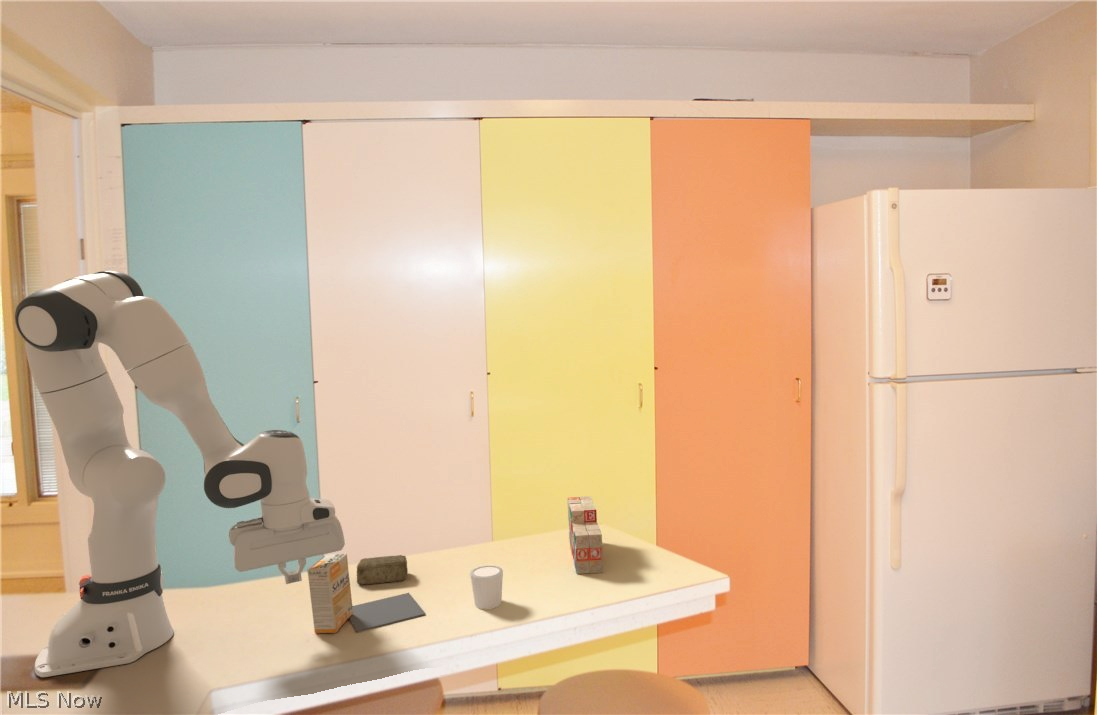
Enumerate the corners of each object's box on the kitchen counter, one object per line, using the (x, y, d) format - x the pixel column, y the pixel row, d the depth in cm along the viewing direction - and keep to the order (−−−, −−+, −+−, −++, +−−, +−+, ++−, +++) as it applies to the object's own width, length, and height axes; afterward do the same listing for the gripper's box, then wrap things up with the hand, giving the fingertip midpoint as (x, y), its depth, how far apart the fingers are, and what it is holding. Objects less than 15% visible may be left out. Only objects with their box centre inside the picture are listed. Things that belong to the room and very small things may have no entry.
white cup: (467, 601, 149) (465, 569, 148) (496, 593, 152) (495, 562, 151) (479, 613, 143) (477, 580, 142) (509, 605, 146) (508, 573, 145)
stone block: (407, 582, 161) (406, 561, 160) (356, 588, 159) (354, 566, 159) (408, 572, 166) (407, 552, 166) (358, 578, 165) (357, 557, 164)
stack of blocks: (603, 573, 161) (601, 521, 160) (576, 575, 161) (574, 522, 159) (592, 541, 182) (591, 495, 181) (569, 542, 182) (567, 496, 181)
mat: (356, 632, 137) (356, 630, 137) (344, 609, 147) (344, 608, 147) (425, 614, 143) (425, 613, 143) (408, 593, 154) (408, 592, 154)
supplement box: (336, 633, 136) (329, 569, 135) (313, 633, 137) (306, 569, 136) (354, 613, 144) (347, 552, 143) (333, 613, 145) (325, 553, 144)
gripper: (228, 528, 127) (236, 601, 129) (343, 507, 137) (349, 575, 138) (227, 519, 133) (234, 588, 134) (337, 499, 142) (342, 564, 144)
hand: (293, 581), depth 136 cm, fingers closed
